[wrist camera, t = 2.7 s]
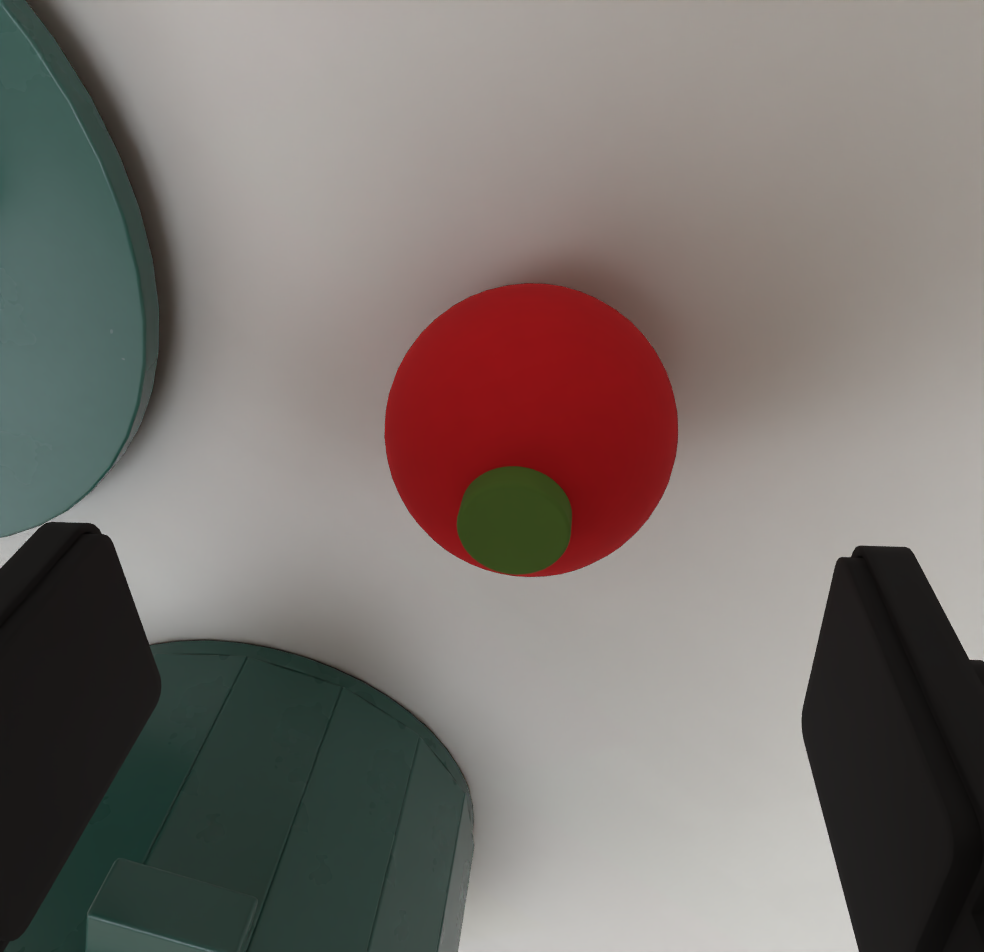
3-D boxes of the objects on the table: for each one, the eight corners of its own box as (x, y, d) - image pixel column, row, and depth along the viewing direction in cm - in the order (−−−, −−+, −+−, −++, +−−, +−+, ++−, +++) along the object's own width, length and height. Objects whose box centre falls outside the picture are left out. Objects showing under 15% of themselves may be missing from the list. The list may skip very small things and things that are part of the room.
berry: (715, 296, 15) (754, 450, 10) (611, 501, 17) (609, 692, 13) (455, 203, 14) (386, 323, 10) (391, 428, 17) (316, 598, 13)
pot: (568, 660, 20) (539, 1098, 13) (396, 978, 30) (323, 1327, 23) (63, 498, 19) (-289, 865, 12) (59, 881, 29) (-132, 1210, 22)
